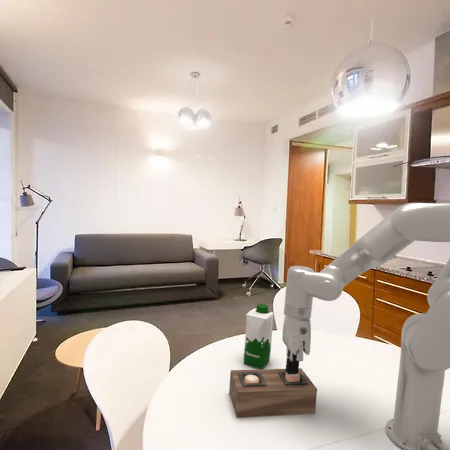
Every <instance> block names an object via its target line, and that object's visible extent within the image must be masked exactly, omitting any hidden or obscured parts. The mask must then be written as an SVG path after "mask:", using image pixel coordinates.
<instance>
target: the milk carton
mask: <svg viewBox="0 0 450 450" xmlns="http://www.w3.org/2000/svg"><path fill="white" fill-rule="evenodd" d="M274 313H275V312H272V311H270V310H269V306H268V305H267V304H264V303H261V304H260V303H259V304H257V305H256V308H253V309H251V310H249V311H248V312H247V313H246V314H245V336H244V337H245V339H244V354H243V364H244V365H246V366H250V367H252V368H256V369H264V368H265V367H266V365H267V364H268V363H269V362H270V358H271V351H272V350H271V349H272V341H273V340H272V337H273V326H274V325H273V323H274Z"/></svg>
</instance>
